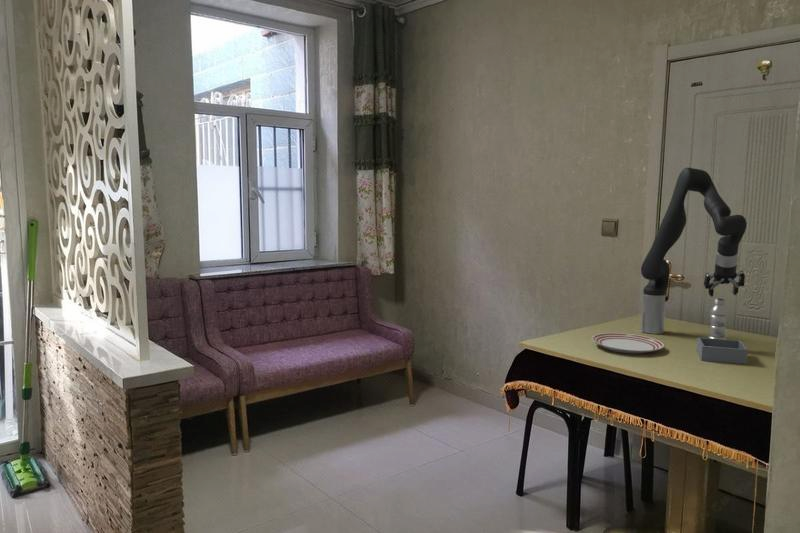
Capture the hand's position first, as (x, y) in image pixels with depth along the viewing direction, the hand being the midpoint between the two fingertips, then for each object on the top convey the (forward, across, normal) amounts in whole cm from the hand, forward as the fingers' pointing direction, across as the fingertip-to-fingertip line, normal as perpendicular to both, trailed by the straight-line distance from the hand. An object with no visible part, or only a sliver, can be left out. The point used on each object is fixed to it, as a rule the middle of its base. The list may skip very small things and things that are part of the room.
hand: (722, 294), depth 244 cm
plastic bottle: (+17, +4, +13) cm, 22 cm away
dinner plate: (+11, +40, +18) cm, 45 cm away
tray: (+10, +7, +26) cm, 29 cm away
